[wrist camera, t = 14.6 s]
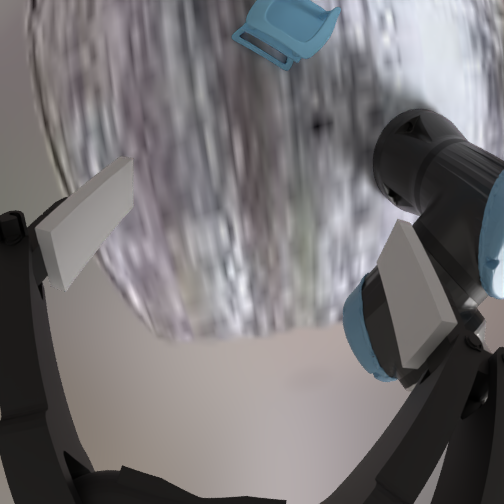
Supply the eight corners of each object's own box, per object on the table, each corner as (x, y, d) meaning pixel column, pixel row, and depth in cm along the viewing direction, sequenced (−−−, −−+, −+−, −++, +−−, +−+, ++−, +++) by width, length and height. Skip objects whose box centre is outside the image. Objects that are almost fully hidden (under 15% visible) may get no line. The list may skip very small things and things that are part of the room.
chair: (324, 21, 29) (363, 7, 19) (286, 72, 32) (310, 75, 22) (269, -13, 26) (286, -45, 16) (230, 38, 30) (229, 25, 20)
